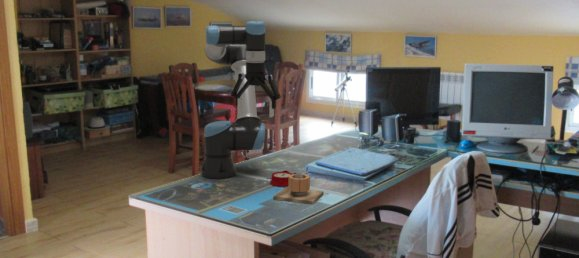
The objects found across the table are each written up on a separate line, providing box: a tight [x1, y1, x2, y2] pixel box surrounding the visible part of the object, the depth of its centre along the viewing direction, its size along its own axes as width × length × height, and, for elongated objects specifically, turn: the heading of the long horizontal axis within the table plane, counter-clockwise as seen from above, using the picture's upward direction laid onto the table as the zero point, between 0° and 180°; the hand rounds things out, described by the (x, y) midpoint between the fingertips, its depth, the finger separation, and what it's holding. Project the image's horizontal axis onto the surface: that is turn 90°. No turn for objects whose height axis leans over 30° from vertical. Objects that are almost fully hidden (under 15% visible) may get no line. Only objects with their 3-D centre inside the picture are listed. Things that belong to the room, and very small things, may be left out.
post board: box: [273, 172, 325, 205], centre depth 224 cm, size 16×13×9 cm
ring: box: [287, 173, 311, 192], centre depth 223 cm, size 8×8×5 cm
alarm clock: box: [266, 170, 297, 188], centre depth 243 cm, size 10×6×15 cm
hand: (255, 115), depth 228 cm, fingers open, 13 cm apart
